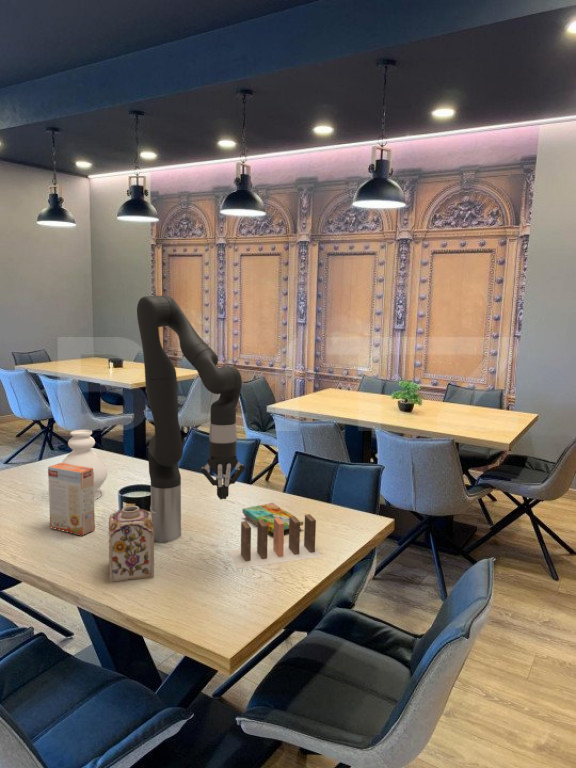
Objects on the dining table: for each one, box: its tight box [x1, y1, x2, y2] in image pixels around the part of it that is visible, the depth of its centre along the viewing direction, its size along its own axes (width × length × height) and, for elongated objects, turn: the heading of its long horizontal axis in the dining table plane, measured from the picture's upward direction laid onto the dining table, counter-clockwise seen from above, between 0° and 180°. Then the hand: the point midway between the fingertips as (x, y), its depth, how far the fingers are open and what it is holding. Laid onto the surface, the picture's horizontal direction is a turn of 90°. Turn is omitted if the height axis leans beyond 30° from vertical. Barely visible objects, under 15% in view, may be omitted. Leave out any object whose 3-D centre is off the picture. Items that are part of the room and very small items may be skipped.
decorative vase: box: [61, 429, 109, 501], centre depth 210 cm, size 18×18×25 cm
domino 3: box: [272, 518, 285, 557], centre depth 167 cm, size 2×5×10 cm, turn 19°
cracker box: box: [47, 462, 96, 536], centre depth 181 cm, size 14×6×21 cm, turn 65°
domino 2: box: [256, 519, 269, 559], centre depth 165 cm, size 2×5×10 cm, turn 19°
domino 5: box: [303, 513, 317, 553], centre depth 170 cm, size 2×5×10 cm, turn 19°
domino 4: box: [288, 515, 301, 555], centre depth 169 cm, size 2×5×10 cm, turn 19°
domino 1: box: [240, 520, 252, 561], centre depth 164 cm, size 2×5×10 cm, turn 19°
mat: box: [227, 540, 324, 569], centre depth 167 cm, size 26×12×1 cm, turn 109°
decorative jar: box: [108, 505, 155, 582], centre depth 154 cm, size 12×12×18 cm
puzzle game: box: [242, 502, 304, 534], centre depth 189 cm, size 12×5×20 cm
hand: (222, 498), depth 159 cm, fingers closed
